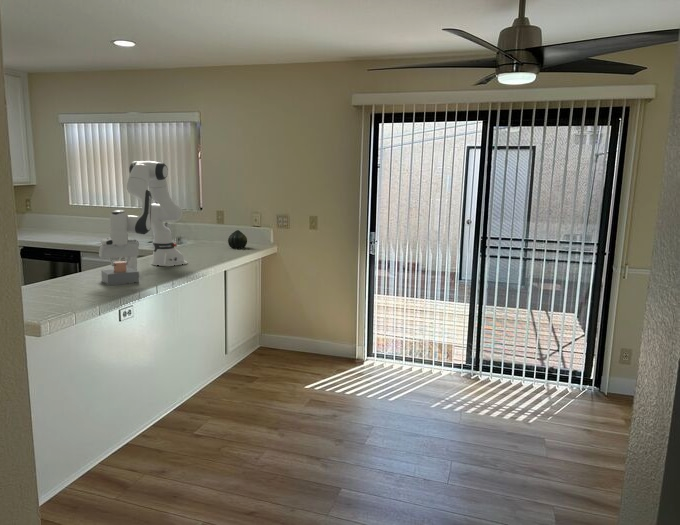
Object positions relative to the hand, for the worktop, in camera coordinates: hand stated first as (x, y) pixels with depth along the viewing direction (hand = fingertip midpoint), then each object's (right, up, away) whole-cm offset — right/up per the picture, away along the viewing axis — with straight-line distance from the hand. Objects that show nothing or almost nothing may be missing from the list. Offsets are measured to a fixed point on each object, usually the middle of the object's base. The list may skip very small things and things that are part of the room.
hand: (119, 265), depth 282 cm
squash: (+38, +13, +132) cm, 138 cm away
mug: (-6, -5, +25) cm, 26 cm away
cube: (0, -3, +1) cm, 3 cm away
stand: (0, -9, +2) cm, 9 cm away
